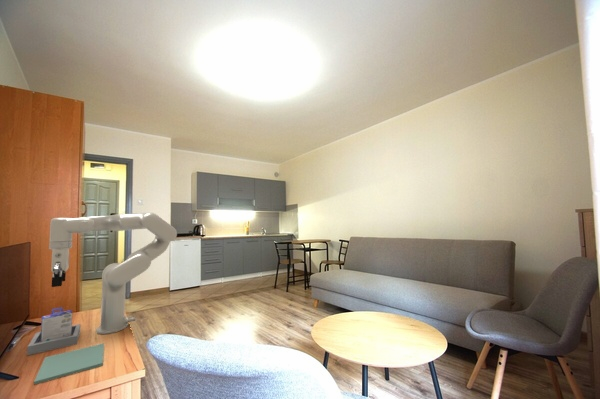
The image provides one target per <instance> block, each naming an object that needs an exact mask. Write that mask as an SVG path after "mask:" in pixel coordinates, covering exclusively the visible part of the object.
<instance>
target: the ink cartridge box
mask: <svg viewBox="0 0 600 399" xmlns="http://www.w3.org/2000/svg"><path fill="white" fill-rule="evenodd" d="M40 321H41V323H40V324H41V326H40V332H41V341H40V342H45V341H50V340H54V339H59V338H64V337H69V336H72V334H71V332H72V326H73V311H72V310H71V309H69V310H64V308H63V306H61V307H56V308H52V309H51V314H47V315H43V316H41V320H40Z"/></svg>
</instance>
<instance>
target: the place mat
mask: <svg viewBox="0 0 600 399" xmlns="http://www.w3.org/2000/svg"><path fill="white" fill-rule="evenodd" d="M104 348H105V343H99V344H95V345H91V346H87V347H82V348H79V349H74V350H70V351H65V352H62V353H57V354H54V355H53V354H52V355H49V356H46V357H44V359H43V361H42V364H41V366H40V368H39V370H38V373H37V374H36V376H35V378H34V380H33V386H35V385H38V384H43V383H46V382H49V381H48V380H50V381H53V380H56V378H57V379H61V378H63V376H64V377H67V376H70V374H71V375H74V374H73V373H75V374H77V373H76V372H78V373H81V372H80V371H82V372H85V371H89V370H92V369H96V368H99V367H102V366H103V363H104ZM84 370H85V371H84ZM66 375H67V376H66ZM52 379H53V380H52ZM45 381H46V382H45Z"/></svg>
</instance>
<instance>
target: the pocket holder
mask: <svg viewBox="0 0 600 399" xmlns="http://www.w3.org/2000/svg"><path fill="white" fill-rule="evenodd" d="M81 326H82V325H81V323H78V324H72V332H71V336H69V337H64V338H59V339H54V340H50V341H45V342H41V331H39V332H35V334H34V335H33V337H32V338H31V340H30V342H29V344H28V345H27V347H26V348H27V349H26V351H27V353H26V356H32V355H36V354H39V353H43V352H48V351H53V350H54V351H55V350H58V349H62V348H66V347H69V346H70V347H71V346H74V345H77V344H78V341H79V338H80V334H81Z"/></svg>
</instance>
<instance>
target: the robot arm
mask: <svg viewBox="0 0 600 399" xmlns="http://www.w3.org/2000/svg"><path fill="white" fill-rule="evenodd" d="M49 225H50V228H49V243H48V244H49V245H48V250H51V251H52V252H51V265H50V266H51V270H50V271H51V272H52V277H51V288H56V287H62V286H63V282H65V281H66V272H67V271H68V269H69V267H70V249H72V248H73V235H74V234H87V233H91V232H101V231H102V232H103V231H104V232H105V231H114V232H120V231H121V232H123V231H132V230H133V231H134V230H144V229H147V231H149V232H150V233H152V234H153V235H155V237H154V239H153V240H152V241H151V242H150V243H148V244H147V245H144V246H143V247H141V248H140V249H137V250H136V251H134V252H131V253H130V254H129V255H128V256H127V257H126V260H124V261H122V262H121V263H119V262H118V263H117V262H113V263H110V264H108V265H107V266H105V267H104V268H103V271H102V273H101V307H100V308H101V309H100V326H98V327H97V328H96V330H95V332H96V334H99V335H108V334H109V335H110V334H114V333H117V332H120V331H123V330H124V329H126V328H128V326H129V323H130V322H135V321H136V316H128V317H127V316H126V314H125V312H126V311H125V310H126V291H127V290H126V288H127V287H126V286H127V285H126V284H127V283H128V282H130V281H132V280H133V279H135V278H136V277H138V276H140V275H141V274H143V273H145V272H146V271H147V270H148V269H149V268H150V266H151V264H152V261H154V260H155V259H157V258H158V257H160V256H161V255H162V254H164V253H165V252H166V251H167V249H168V248H169V246H170V243H171V242H173V241H174V240H175V239H176V238H177V236H178V233H177V232H178V231H177V229H176V228H175V227H174V226H173V225H171V224H170V223H169V222H167V221H165V220H164V219H163V218H162V217H161V216H159V215H158V214H156V213H154V212H138V213H137V212H136V213H119V214H118V213H117V214H112V215H111V214H110V215H100V216H99V215H98V216H82V217H73V218H72V217H53V218H51V220H50V224H49Z"/></svg>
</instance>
